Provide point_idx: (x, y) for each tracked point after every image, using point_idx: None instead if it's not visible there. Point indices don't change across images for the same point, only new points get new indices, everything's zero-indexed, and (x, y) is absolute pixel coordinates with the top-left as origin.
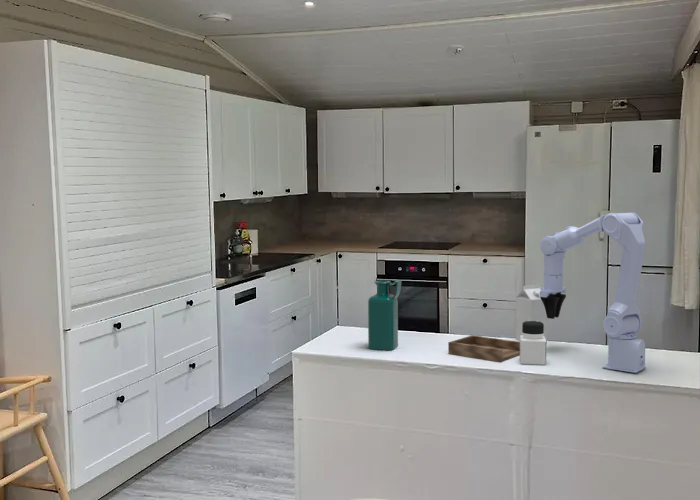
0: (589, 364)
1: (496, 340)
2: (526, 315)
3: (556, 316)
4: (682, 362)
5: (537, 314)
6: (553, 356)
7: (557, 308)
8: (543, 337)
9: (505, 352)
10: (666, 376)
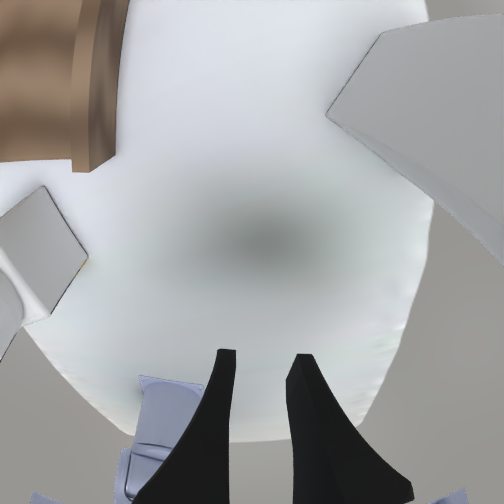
0: (136, 356)
1: (81, 22)
2: (431, 106)
3: (287, 380)
4: (273, 434)
5: (453, 207)
6: (153, 268)
7: (296, 434)
8: (26, 320)
9: (39, 118)
10: None
